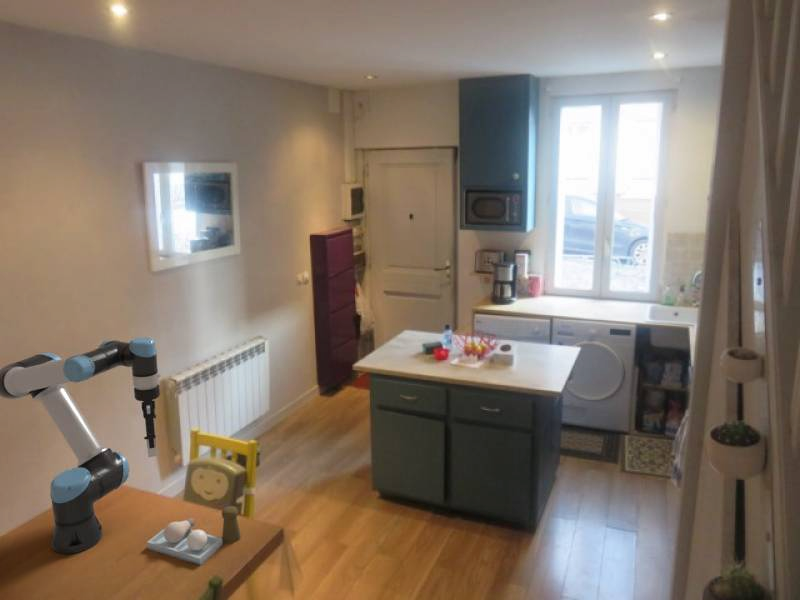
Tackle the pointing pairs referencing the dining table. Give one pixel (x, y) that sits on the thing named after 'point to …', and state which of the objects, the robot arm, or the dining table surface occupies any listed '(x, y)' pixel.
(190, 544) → the white ball
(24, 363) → the robot arm
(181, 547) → the tray
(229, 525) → the pepper mill
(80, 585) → the dining table surface
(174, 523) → the light bulb
